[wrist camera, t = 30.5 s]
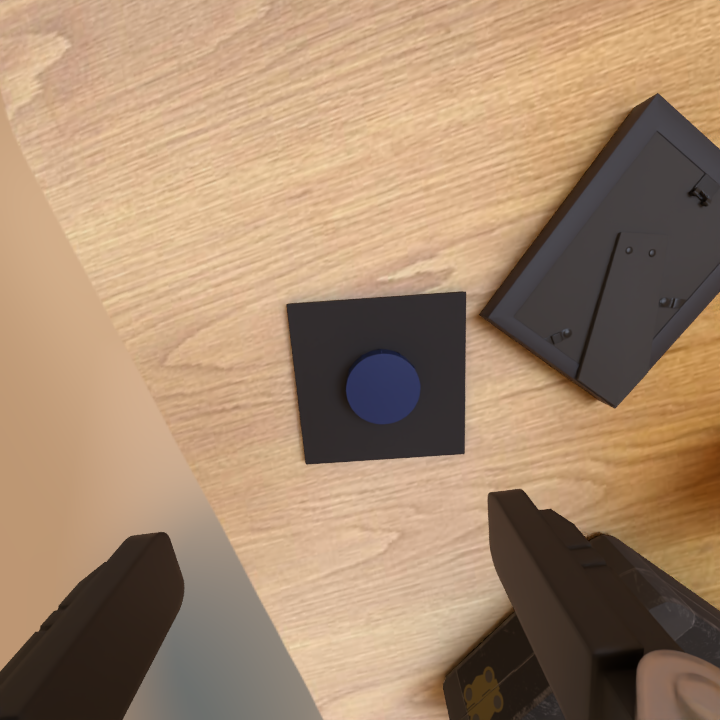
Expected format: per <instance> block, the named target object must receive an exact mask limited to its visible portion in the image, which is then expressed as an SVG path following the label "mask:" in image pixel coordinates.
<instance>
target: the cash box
mask: <svg viewBox="0 0 720 720" xmlns="http://www.w3.org/2000/svg"><path fill="white" fill-rule="evenodd" d="M589 542H590V544H591V547H592V548H595V549H596V551H597V552H598V553H599V554H600V555H601V556H602V557H603V559H604V560H605V561H606V564H607V566H610V567H611V568H612V569H613V570H614V571H615V573H616V574H617V575H618V576H619V577H620V578H621V579H622V581H623V582H624V583H625V584H626V585H627V586H628V588H629V589H630V590H631V591H632V592H633V593H634V595H635V596H636V597H637V598H638V599H639V600H640V602H641V603H642V604H643V605H644V606H645V607H646V608H647V610H648V611H649V612H650V613H651V614H652V615H653V617H654V618H655V619H656V620H657V621H658V622H659V624H660V625H661V626H662V627H663V628H664V629H665V630H666V632H667V633H668V634H669V635H670V636H671V637H672V639H673V640H674V641H675V642H676V643H677V644H678V645H679V646H680V647H681V648H682V649H683V651H684V652H686V653H687V654H690V655H693V656H696V657H698V658H700V659H702V660H705V661H707V662H709V663H711V664H713V665H714V666H716V667H718V668H719V669H720V611H719V610H718V609H716V608H715V607H713V606H712V605H710V604H709V603H708V602H706V601H705V600H703V599H702V598H701V597H699V596H698V595H696V594H695V593H693V592H692V591H691V590H689V589H688V588H686V587H685V586H684V585H682V584H681V583H679V582H678V581H676V580H675V579H674V578H672V577H671V576H669V575H668V574H667V573H665V572H664V571H662V570H661V569H659V568H658V567H657V566H655V565H654V564H652V563H651V562H650V561H648V560H647V559H645V558H644V557H642V556H641V555H640V554H638V553H637V552H635V551H634V550H633V549H631V548H630V547H628V546H627V545H625V544H624V543H623V542H621V541H620V540H618V539H617V538H615V537H613V536H608V535H603V534H602V535H600V536H598V537H596V538H594V539H591V540H590V541H589ZM443 690H444V695H445V700H446V705H447V710H448V714H449V719H450V720H566V719H565V717H564V715H563V713H562V711H561V709H560V706H559V704H558V702H557V700H556V698H555V696H554V694H553V691H552V689H551V687H550V685H549V683H548V681H547V679H546V677H545V674H544V672H543V670H542V668H541V666H540V664H539V662H538V659H537V657H536V655H535V653H534V651H533V649H532V647H531V645H530V642H529V640H528V638H527V636H526V634H525V632H524V630H523V627H522V625H521V623H520V621H519V619H518V617H517V615H516V613H515V612H514V613H513V614H512V615H511V616H510V617H508V618H507V619H506V620H505V621H504V622H503V623H502V624H501V625H500V626H499V627H498V628H497V629H496V630H495V631H494V632H493V633H492V634H491V635H489V636H488V637H487V638H486V639H485V640H484V641H483V642H482V643H481V644H480V645H479V646H478V647H477V648H476V649H475V650H474V651H473V652H471V653H470V654H469V655H468V656H467V657H466V658H465V659H464V660H463V661H462V662H461V663H460V664H459V665H458V666H457V667H456V668H455V669H454V670H453V671H452V672H450V673H449V674H448V675H447V676H446V679H445V681H444V683H443Z"/></svg>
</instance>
